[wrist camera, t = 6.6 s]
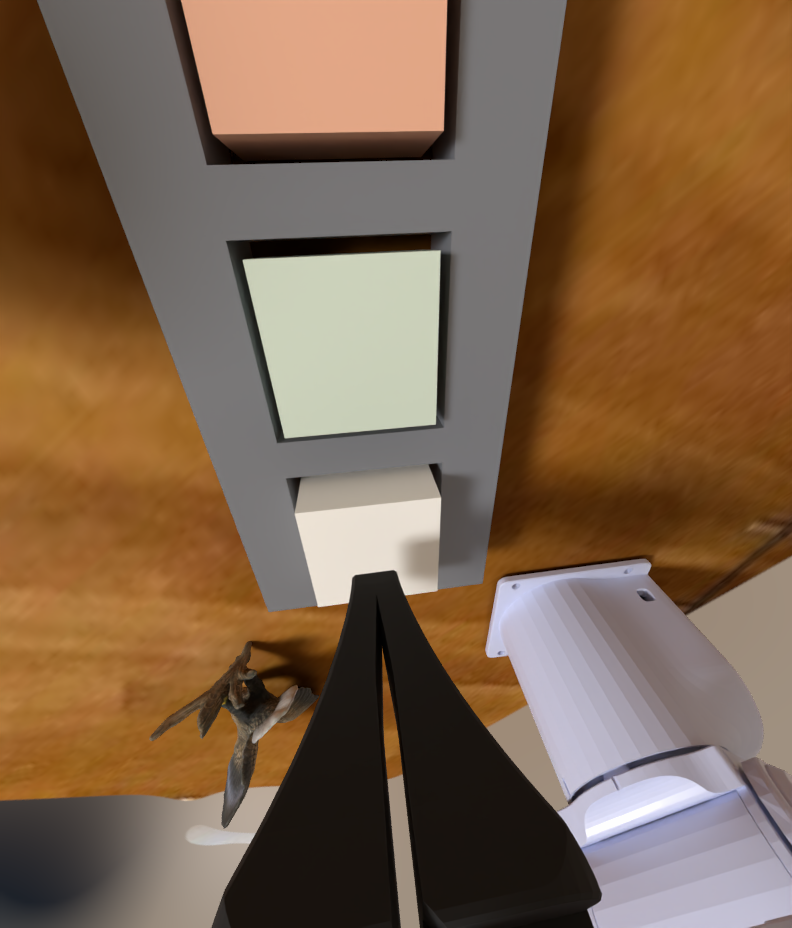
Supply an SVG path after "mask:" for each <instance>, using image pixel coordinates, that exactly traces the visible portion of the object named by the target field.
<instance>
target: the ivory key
mask: <svg viewBox="0 0 792 928" xmlns="http://www.w3.org/2000/svg"><path fill="white" fill-rule="evenodd" d="M440 515H441V496H440V493H439V491H438V488H437V485H436V483H435V480H434V478H433V475H432V473H431V470H430V467H429V465H428V464H423V465H413V466H403V467H394V468H384V469H374V470H364V471H354V472H344V473H334V474H325V475H315V476H305V477H301V481H300V487H299V492H298V498H297V503H296V509H295V517H296V521H297V525H298V529H299V533H300V537H301V541H302V545H303V549H304V553H305V557H306V561H307V565H308V569H309V573H310V577H311V581H312V585H313V588H314V592H315V596H316V600H317V604H318V607H322V606H329V605H337V604H344V603H349V599H350V593H351V585H352V577H354V576H355V575H359V574H367V573H374V572H382V571H390V570H394V571H396V572H397V574H398V578H399V581H400V584H401V587H402V589H403V592H404V594H405V595H411V594H419V593H426V592H433V591H437V589H438V564H439V540H440Z"/></svg>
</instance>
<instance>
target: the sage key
mask: <svg viewBox="0 0 792 928" xmlns="http://www.w3.org/2000/svg"><path fill="white" fill-rule="evenodd" d="M440 253H441V250H403V251H381V252H360V253H338V254H317V255H295V256H273V257H259V258H252V259H244V260H243V264H244V268H245V273H246V277H247V281H248V285H249V289H250V294H251V298H252V302H253V306H254V311H255V315H256V319H257V323H258V327H259V332H260V336H261V340H262V344H263V349H264V353H265V357H266V361H267V365H268V370H269V374H270V378H271V382H272V387H273V391H274V395H275V399H276V404H277V408H278V412H279V416H280V420H281V425H282V429H283V433H284V437H285V438H294V437H305V436H316V435H327V434H338V433H349V432H360V431H371V430H382V429H392V428H403V427H414V426H425V425H436V404H437V366H438V328H439V290H440Z"/></svg>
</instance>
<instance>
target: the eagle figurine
mask: <svg viewBox="0 0 792 928" xmlns="http://www.w3.org/2000/svg"><path fill="white" fill-rule="evenodd" d="M251 646H252V642H251V641H249V642H247V643H246V645H245V647H244V649H243V651H242V653H241V655H240V656H237V657H236V660H235V662H234V663H233V664H232V665H230V667H229V670H228V671H227V672H226V673H225V674H224V675H223V676H222V677H221V678H220V679H219V680H218V681H217V682H216V683H215V684H214V685H213V686H212V688H211V689H210V690H208V691H206V692H205V693H204V694H202V695H201V696H199V697H198V698H196V699H195V700H194V701H192V702H191V703H189V704H188V705H186V706H184V707H183V708H181V709H180V710H178V711H177V712H175V713H174V714H172V715H171V716H169V717H168V718H167V719H166V720H165V721H164V722H163V723H162V724H161V725H160V726H159V727H158V728H157V730H156V731H155V732H154V733H153V734H152V735H151V736H150V741H154V740H155V739H157V738H158V737H159V736H161V735H162V734H163V733H164V732H165V731H167V730H168V729H170V728H171V727H173V726H175V725H177V724H178V723H180V722H181V721H182V720H184V719H185V718H186V717H187V716H189V715H190V714H191V713H193V712H194V711H196V710H198V709H201V710H200V712H199V715H198V718H197V725H198V728H199V730H200V737H201V738H203V737H204V736H205V735H206V733H207V731H208V730H209V728H210V727H211V725H212V723H213V722H214V720H215V719H216V717H217V715H218V712H219V710H220V708H221V706H222V707H223V708H226V709H227V710H228V711H229V712H230V713H231V716H232V719H233V720H234V722H235V723H236V725H237V729H238V739H237V741H236V744H235V747H234V754H233V755H232V757H231V760H230V763H229V766H228V774H227V782H226V788H225V793H224V805H223V812H222V826H223V827H224V828H226V827H227V826H228V825H229V823H230V821H231V820H232V818H233V816H234V815H235V813H236V811H237V809H238V808H239V806H240V804H241V803H242V801H243V799H244V797H245V795H246V793H247V790H248V787H249V784H250V780H251V777H252V774H253V772H254V769H255V762H256V757H257V751H258V740H259V739H260V738H261V737H262V736H263V735H264V734H265V733H266V732H267V731H268V730H269V729H270V728H271V727H272V726H273V725H274V724H275V723H285V722H288V721H291V720H294V719H295V718H297V717H298V716H299V715H300V714H302V713H303V712H304V711H305V710H306V709H307V708H308V707H309V706H310V705H311V704H312V703H314V702H315V701H316V699H317V698H318V697H319V695H317V696H316V695H314V694H313V693H312V691H311V688H308V687H307V688H304V687H300V689H298V686H297V685H294V686H292V687H290V688H289V689H288V690H287V691H285V692H284V693H283V694H282V695H281V696H280V697H278V698H277V697H275V696H274V695H273V694H271V693H269V692H268V691H267V690H266V689H265V685H264V684H263V682H262V680H261V679H260V678H259V677H258V676H257V675H256V674H257V671H256V670H252V669H248V668H247V666H246V665H247V663H248V662H249V660H250V657H251V652H250V650H251ZM243 680H244V683H245V685H246V686H247V687H242V683H243ZM311 693H312V694H311Z"/></svg>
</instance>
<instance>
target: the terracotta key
mask: <svg viewBox="0 0 792 928" xmlns="http://www.w3.org/2000/svg"><path fill="white" fill-rule="evenodd" d="M181 2H182V6H183V11H184V15H185V19H186V23H187V28H188V32H189V36H190V40H191V44H192V49H193V53H194V57H195V61H196V66H197V70H198V74H199V78H200V82H201V87H202V91H203V95H204V99H205V104H206V108H207V112H208V116H209V121H210V125H211V129H212V133H213V135H214V136H215V137H216V138H218V139H219V140H220V141H221V142H222V143H223V144H225V145H226V146H227V147H228V148H229V149H230V150H232V151H233V152H234V153H235V154H236V155H237V156H239V157H240V158H241V159H242V160H243V161H262V160H306V159H351V158H395V157H421V156H422V155H423V154H424V153H425V152H426V151H427V149H428V148H429V147H430V146H431V145H432V144H433V143H434V141H435V140H436V139H437V138H438V137H439V136H440V134H441V133H442V132H443V131H444V102H445V64H446V26H447V0H181Z"/></svg>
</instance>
